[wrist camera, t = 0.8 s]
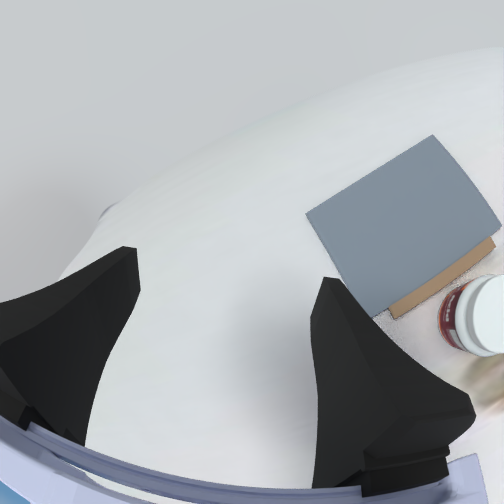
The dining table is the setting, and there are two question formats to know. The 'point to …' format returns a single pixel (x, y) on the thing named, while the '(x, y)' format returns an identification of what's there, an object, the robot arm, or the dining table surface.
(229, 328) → the dining table surface
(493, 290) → the pill bottle
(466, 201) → the slate mat
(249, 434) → the dining table surface
